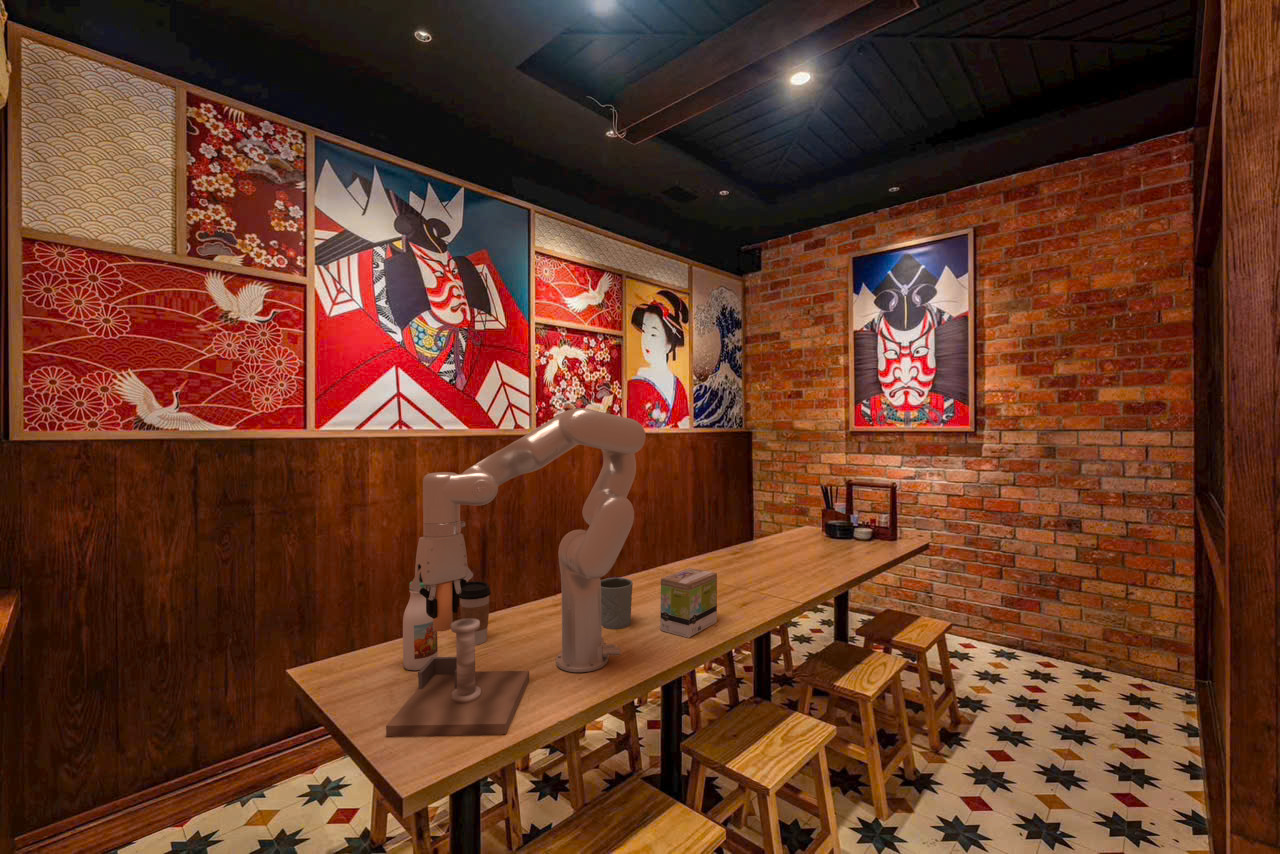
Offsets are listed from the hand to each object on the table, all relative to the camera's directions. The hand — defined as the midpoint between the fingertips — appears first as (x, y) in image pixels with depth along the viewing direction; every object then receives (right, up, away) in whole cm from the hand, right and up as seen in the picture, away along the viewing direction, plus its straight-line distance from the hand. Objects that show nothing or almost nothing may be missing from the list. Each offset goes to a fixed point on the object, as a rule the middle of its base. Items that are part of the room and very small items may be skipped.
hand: (442, 613), depth 118 cm
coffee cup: (-1, -17, +28) cm, 32 cm away
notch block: (0, -15, 0) cm, 15 cm away
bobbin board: (+7, -17, -6) cm, 19 cm away
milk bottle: (-10, -17, +14) cm, 24 cm away
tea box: (+57, -16, +36) cm, 69 cm away
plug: (0, -3, 0) cm, 3 cm away
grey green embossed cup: (+36, -16, +39) cm, 55 cm away
